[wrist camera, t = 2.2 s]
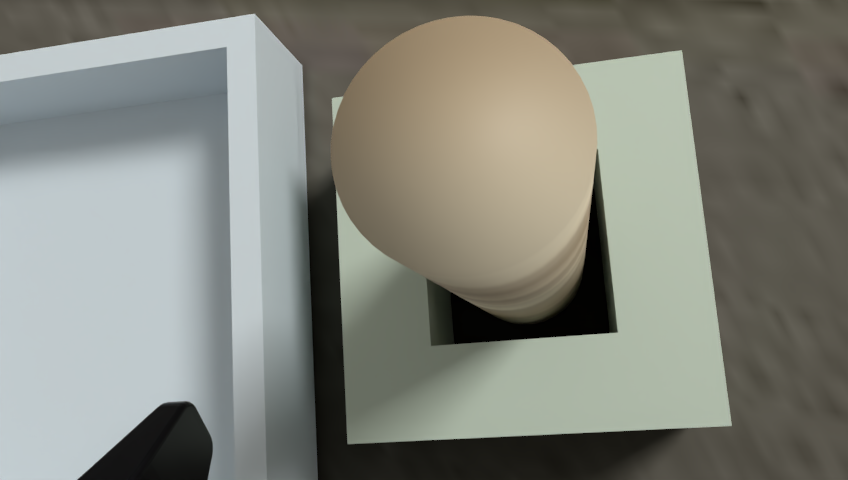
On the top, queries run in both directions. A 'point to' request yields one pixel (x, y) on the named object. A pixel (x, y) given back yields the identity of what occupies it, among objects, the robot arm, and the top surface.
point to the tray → (155, 249)
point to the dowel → (472, 163)
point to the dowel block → (570, 355)
